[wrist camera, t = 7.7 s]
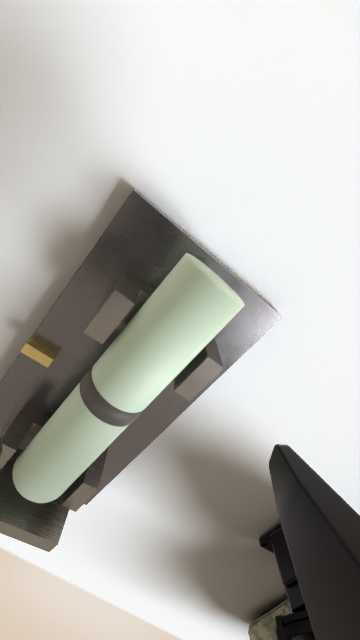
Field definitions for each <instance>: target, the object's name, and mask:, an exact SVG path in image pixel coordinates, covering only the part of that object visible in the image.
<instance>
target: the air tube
mask: <svg viewBox="0 0 360 640" xmlns="http://www.w3.org/2000/svg"><path fill="white" fill-rule="evenodd" d="M244 306H245V304H244V302H243V301H242V299H241V298H240V297H239V296H238V295H237V294H236V292H235V291H234V290H233V289H232V288H231V287H230V286H229V285H228V284H227V283H226V282H225V281H223V280H222V279H221V278H220V277H219V276H218V275H217V274H216V273H215V272H213V271H212V270H211V269H210V268H209V267H207V266H206V265H205V264H204V263H202V262H201V261H200V260H198V259H197V258H195V257H194V256H192V255H191V254H188V253H186V254H185V255H184V256H183V257H182V259H181V260H180V261H179V262H178V263H177V265H176V266H175V267H174V268H173V269H172V271H171V272H170V273H169V274H168V276H167V277H166V278H165V279H164V280H163V282H162V283H161V284H160V285H159V287H158V288H157V289H156V290H155V291H154V293H153V294H152V295H151V296H150V297H149V299H148V300H147V301H146V302H145V304H144V305H143V306H142V307H141V308H140V310H139V311H138V312H137V313H136V314H135V316H134V317H133V318H132V319H131V321H130V322H129V323H128V324H127V325H126V327H125V328H124V329H123V330H122V331H121V333H120V334H119V335H118V336H117V338H116V339H115V340H114V341H113V342H112V344H111V345H110V346H109V347H108V349H107V350H106V351H105V352H104V353H103V355H102V356H101V357H100V358H99V359H98V361H96V362H95V363H94V364H93V365H92V367H91V368H90V369H89V370H88V372H87V373H86V374H85V375H84V376H83V378H82V379H81V381H80V383H79V384H78V385H77V386H76V387H75V389H74V390H73V391H72V392H71V394H70V395H69V396H68V397H67V398H66V400H65V401H64V402H63V403H62V404H61V406H60V407H59V408H58V409H57V411H56V412H55V413H54V414H53V415H52V417H51V418H50V419H49V420H48V421H47V423H46V424H45V425H44V426H43V428H42V429H41V430H40V431H39V432H38V434H37V435H36V436H35V437H34V439H33V440H32V441H31V442H30V443H29V445H28V446H27V447H26V448H25V449H24V451H23V452H22V453H21V454H20V456H19V457H18V458H17V460H16V461H15V464H14V466H13V472H12V477H13V482H14V485H15V487H16V489H17V491H18V492H19V493H20V494H21V495H22V496H23V497H24V498H26V499H27V500H29V501H32V502H36V503H47V502H51V501H53V500H55V499H57V498H58V497H59V496H61V495H62V494H63V493H64V492H65V490H66V489H67V488H68V487H69V486H70V485H71V484H72V483H73V482H74V481H75V480H76V479H77V478H78V477H79V476H80V475H81V474H82V473H83V472H84V471H85V470H86V469H87V468H88V467H89V466H90V465H91V464H92V463H93V462H94V461H95V460H96V459H97V457H98V456H99V455H100V454H101V453H102V452H103V451H104V450H105V449H106V448H107V447H108V446H109V445H110V444H111V443H112V442H113V441H114V440H115V439H116V438H117V437H118V436H119V435H120V434H121V433H122V432H123V431H124V430H125V429H126V428H127V427H128V426H129V425H130V424H131V423H132V422H134V421H135V420H136V418H137V417H138V416H139V415H140V414H141V413H142V412H143V411H144V410H145V409H146V408H147V406H148V405H149V404H150V403H151V402H152V401H153V400H154V399H155V398H156V397H157V396H158V395H159V394H160V393H161V391H162V390H163V389H164V388H165V387H166V386H167V385H168V384H169V383H170V382H171V381H172V380H173V379H174V378H175V377H176V376H177V375H178V374H179V373H180V372H181V371H182V370H183V369H184V368H185V367H186V366H187V365H188V364H189V363H190V362H191V361H192V360H193V358H194V357H195V356H196V355H197V354H198V353H199V352H200V351H201V350H202V349H203V348H204V347H205V346H206V345H207V344H208V343H209V342H210V341H211V340H212V339H213V338H214V337H215V336H216V335H217V334H218V333H219V332H220V331H221V330H222V329H223V328H224V327H225V325H226V324H227V323H228V322H229V321H230V320H231V319H232V318H233V317H234V316H235V315H236V314H237V313H238V312H239V311H240V310H241V309H242V308H243V307H244Z"/></svg>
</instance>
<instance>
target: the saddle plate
mask: <svg viewBox="0 0 360 640" xmlns="http://www.w3.org/2000/svg"><path fill="white" fill-rule="evenodd" d="M186 253H188V254H191V255H192V256H194V257H195V258H197V259H198V260H200V261H201V262H202V263H204V264H205V265H206V266H207V267H209V268H210V269H211V270H212V271H213V272H215V273H216V274H217V275H218V276H219V277H220V278H221V279H222V280H223V281H225V282H226V283H227V284H228V285H229V286H230V287H231V288H232V289H233V290H234V291H235V292H236V294H237V295H238V296H239V297H240V298H241V299H242V301H243V302H244V304H245V306H244V307H243V308H242V309H241V310H240V311H239V312H238V313H237V314H236V315H235V316H234V317H233V318H232V319H231V320H230V321H229V322H228V323H227V324H226V325H225V327H224V328H223V329H222V330H221V331H220V332H219V333H218V334H217V335H216V336H215V337H214V338H213V339H212V340H211V341H210V342H209V343H208V344H207V345H206V346H205V347H204V348H203V349H202V350H201V351H200V352H199V353H198V354H197V355H196V356H195V357H194V358H193V360H192V361H191V362H190V363H189V364H188V365H187V366H186V367H185V368H184V369H183V370H182V371H181V372H180V373H179V374H178V375H177V376H176V377H175V378H174V379H173V380H172V381H171V382H170V383H169V384H168V385H167V386H166V387H165V388H164V389H163V390H162V391H161V393H160V394H159V395H158V396H157V397H156V398H155V399H154V400H153V401H152V402H151V403H150V404H149V405H148V406H147V408H146V409H145V410H144V411H143V412H142V413H141V414H140V415H139V416H138V417H137V418H136V420H135V421H134V422H132V423H131V424H130V425H129V426H128V427H127V428H126V429H125V430H124V431H123V432H122V433H121V434H120V435H119V436H118V437H117V438H116V439H115V440H114V441H113V442H112V443H111V444H110V445H109V446H108V447H107V448H106V449H105V450H104V451H103V452H102V453H101V454H100V455H99V456H98V457H97V459H96V460H95V461H94V462H93V463H92V464H91V465H90V466H89V467H88V468H87V469H86V470H85V471H84V472H83V473H82V474H81V475H80V476H79V477H78V478H77V479H76V480H75V481H74V482H73V483H72V484H71V485H70V486H69V487H68V488H67V489H66V490H65V492H64V493H63V494H62V495H61V496H59V497H58V498H57V499H55V500H53V501H51V502H47V503H36V502H32V501H29V500H27V499H26V498H24V497H23V496H22V495H21V494H20V493H19V492H18V491H17V489H16V487H15V485H14V482H13V477H12V472H13V466H14V464H15V461H16V460H17V458H18V457H19V456H20V454H21V453H22V452H23V451H24V449H25V448H26V447H27V446H28V445H29V443H30V442H31V441H32V440H33V439H34V437H35V436H36V435H37V434H38V432H39V431H40V430H41V429H42V428H43V426H44V425H45V424H46V423H47V421H48V420H49V419H50V418H51V417H52V415H53V414H54V413H55V412H56V411H57V409H58V408H59V407H60V406H61V404H62V403H63V402H64V401H65V400H66V398H67V397H68V396H69V395H70V394H71V392H72V391H73V390H74V389H75V387H76V386H77V385H78V384H79V383H80V381H81V379H82V378H83V376H84V375H85V374H86V373H87V372H88V370H89V369H90V368H91V367H92V365H93V364H94V363H95V362H96V361H98V359H99V358H100V357H101V356H102V355H103V353H104V352H105V351H106V350H107V349H108V347H109V346H110V345H111V344H112V342H113V341H114V340H115V339H116V338H117V336H118V335H119V334H120V333H121V331H122V330H123V329H124V328H125V327H126V325H127V324H128V323H129V322H130V321H131V319H132V318H133V317H134V316H135V314H136V313H137V312H138V311H139V310H140V308H141V307H142V306H143V305H144V304H145V302H146V301H147V300H148V299H149V297H150V296H151V295H152V294H153V293H154V291H155V290H156V289H157V288H158V287H159V285H160V284H161V283H162V282H163V280H164V279H165V278H166V277H167V276H168V274H169V273H170V272H171V271H172V269H173V268H174V267H175V266H176V265H177V263H178V262H179V261H180V260H181V259H182V257H183V256H184V255H185V254H186ZM280 318H282V316H281V315H280V314H279V313H278V312H277V311H276V310H275V309H274V308H273V307H272V306H270V305H269V304H268V303H267V302H266V301H265V300H263V299H262V298H261V297H260V296H259V295H258V294H256V293H255V292H254V291H253V290H252V289H251V288H249V287H248V286H247V285H246V284H245V283H244V282H242V281H241V280H240V279H239V278H238V277H237V276H235V275H234V274H233V273H232V272H231V271H230V270H228V269H227V268H226V267H225V266H224V265H223V264H222V263H220V262H219V261H218V260H217V259H216V258H215V257H213V256H212V255H211V254H210V253H209V252H208V251H206V250H205V249H204V248H203V247H202V246H201V245H199V244H198V243H197V242H196V241H195V240H194V239H192V238H191V237H190V236H189V235H188V234H187V233H185V232H184V231H183V230H182V229H181V228H180V227H178V226H177V225H176V224H175V223H174V222H173V221H171V220H170V219H169V218H168V217H167V216H166V215H164V214H163V213H162V212H161V211H160V210H159V209H157V208H156V207H155V206H154V205H153V204H152V203H150V202H149V201H148V200H147V199H146V198H145V197H143V196H142V195H141V194H140V193H139V192H138V191H137V190H133V192H132V193H131V195H130V196H129V197H128V199H127V200H126V202H125V203H124V205H123V206H122V207H121V209H120V210H119V212H118V213H117V215H116V216H115V218H114V219H113V220H112V222H111V223H110V225H109V226H108V228H107V229H106V230H105V232H104V233H103V235H102V236H101V238H100V239H99V241H98V242H97V243H96V245H95V246H94V248H93V249H92V251H91V252H90V254H89V255H88V256H87V258H86V259H85V261H84V262H83V264H82V265H81V266H80V268H79V269H78V271H77V272H76V274H75V275H74V277H73V278H72V279H71V281H70V282H69V284H68V285H67V287H66V288H65V290H64V291H63V292H62V294H61V295H60V297H59V298H58V300H57V301H56V302H55V304H54V305H53V307H52V308H51V310H50V311H49V313H48V314H47V315H46V317H45V318H44V320H43V321H42V323H41V324H40V325H39V327H38V328H37V330H36V331H35V333H34V334H33V336H32V337H31V338H30V339H29V340H28V341H27V342H26V343H25V345H24V346H23V348H22V349H21V351H20V352H21V353H20V354H19V356H18V357H17V359H16V360H15V361H14V363H13V364H12V366H11V367H10V369H9V370H8V372H7V373H6V374H5V376H4V377H3V379H2V380H1V382H0V435H1V440H2V445H3V449H2V453H1V456H0V533H2V534H4V535H7V536H9V537H12V538H15V539H17V540H20V541H22V542H25V543H27V544H30V545H32V546H35V547H38V548H40V549H43V550H45V551H48V552H50V551H51V550H52V549H53V548H54V547H55V546H56V545H57V544H58V542H59V539H60V536H61V533H62V530H63V527H64V524H65V520H66V517H67V514H68V511H69V509H71V510H73V511H75V512H76V511H77V510H78V509H79V508H80V507H81V506H82V505H83V504H86V505H87V504H88V503H89V502H90V501H91V500H92V499H93V498H94V497H95V496H96V495H97V494H98V493H99V492H100V491H101V490H102V489H103V488H104V487H105V486H106V485H107V484H108V483H110V482H111V481H112V480H113V479H114V478H115V477H116V476H117V475H118V474H119V473H120V472H121V471H122V470H123V469H124V468H125V467H126V466H127V465H128V464H129V463H130V462H131V461H132V460H133V459H135V458H136V457H137V456H138V455H139V454H140V453H141V452H142V451H143V450H144V449H145V448H146V447H147V446H148V445H149V444H150V443H151V442H152V441H153V440H154V439H155V438H156V437H157V436H159V435H160V434H161V433H162V432H163V431H164V430H165V429H166V428H167V427H168V426H169V425H170V424H171V423H172V422H173V421H174V420H175V419H176V418H177V417H178V416H179V415H180V414H181V413H182V412H184V411H185V410H186V409H187V408H188V407H189V406H190V405H191V404H192V403H193V402H194V401H195V400H196V399H197V398H198V397H199V396H200V395H201V394H202V393H203V392H204V391H205V390H206V389H208V388H209V387H210V386H211V385H212V384H213V383H214V382H215V381H216V380H217V379H218V378H219V377H220V376H221V375H222V374H223V373H224V372H225V371H226V370H227V369H228V368H229V367H230V366H231V365H233V364H234V363H235V362H236V361H237V360H238V359H239V358H240V357H241V356H242V355H243V354H244V353H245V352H246V351H247V350H248V349H249V348H250V347H251V346H252V345H253V344H254V343H255V342H256V341H258V340H259V339H260V338H261V337H262V336H263V335H264V334H265V333H266V332H267V331H268V330H269V329H270V328H271V327H272V326H273V325H274V324H275V323H276V322H277V321H278V320H279V319H280Z"/></svg>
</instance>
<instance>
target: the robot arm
mask: <svg viewBox="0 0 360 640" xmlns="http://www.w3.org/2000/svg"><path fill="white" fill-rule="evenodd" d="M2 449H3V445H2V440H1V435H0V456H1V453H2ZM269 469H270V474H271V480H272V485H273V490H274V495H275V500H276V505H277V510H278V514H279V518H280V522H281V525H280V526H278V527H277V528H275V529H274V530H272V531H271V532H269V533H268V534H266V535H265V536H263V537H262V538H260V539H259V542H260V546H261V547H263V548H265V549H267V550H269V551H271V552H273V553H274V554H275V558H276V561H277V565H278V568H279V572H280V575H281V579H282V583H283V585H284V586H285V589H286V593H287V597H288V600H289V604H290V607H291V611H292V612H293V613H290V614H286V615H283V616H282V615H277V616H275V620H276V634H277V640H360V515H358V514H357V513H356V512H355V511H354V510H353V509H352V508H351V507H350V506H349V505H348V504H347V503H346V502H345V501H344V500H343V499H342V498H341V497H340V496H339V495H338V494H337V493H336V492H335V491H334V490H333V489H332V488H331V487H330V486H329V485H328V484H327V483H326V482H325V481H324V480H323V479H322V478H321V477H320V476H319V475H318V474H317V473H316V472H315V471H314V470H313V469H312V468H311V467H310V466H309V465H308V464H307V463H306V462H305V461H304V460H303V459H302V458H301V457H300V456H299V455H298V454H297V453H296V452H294V451H293V450H292V449H291V448H290V447H289V446H288V445H279V444H277V445H275V446H274V449H273V452H272V455H271V458H270V461H269Z"/></svg>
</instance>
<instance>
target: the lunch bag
mask: <svg viewBox="0 0 360 640" xmlns="http://www.w3.org/2000/svg"><path fill="white" fill-rule="evenodd" d="M290 613H293V612H292V611H291V607H290V604H289V600H288V599H287V600H285V601H284V602H282V603H281V604H279V605H278V606H276V607H275V608H273V609H272V610H270V611H269V612H268V613H266V614H264V615H262V616H260V617H258V618H257V619H256V620H255V621H254V622H253V623H252V624H251V625H250V626H249V631H248V633H249V636H250V640H277V634H276V620H275V616H277V615H282V616H283V615H286V614H290Z"/></svg>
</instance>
